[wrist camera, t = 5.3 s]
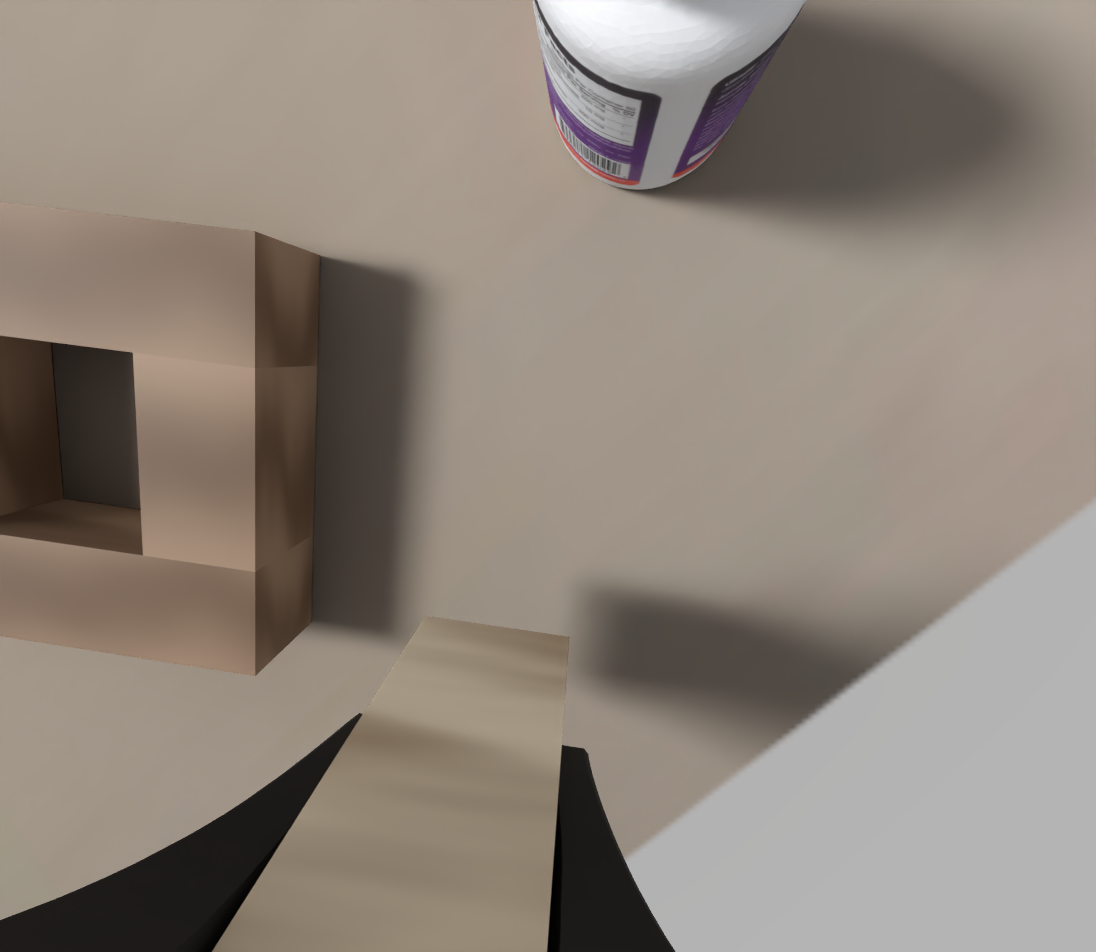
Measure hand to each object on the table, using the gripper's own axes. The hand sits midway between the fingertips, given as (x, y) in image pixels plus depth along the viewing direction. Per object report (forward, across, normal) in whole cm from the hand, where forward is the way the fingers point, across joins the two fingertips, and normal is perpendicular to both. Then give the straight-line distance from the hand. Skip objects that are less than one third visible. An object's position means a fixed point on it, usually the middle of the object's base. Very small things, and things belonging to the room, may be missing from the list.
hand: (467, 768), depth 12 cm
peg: (+3, 0, 0) cm, 3 cm away
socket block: (+8, +14, -5) cm, 17 cm away
